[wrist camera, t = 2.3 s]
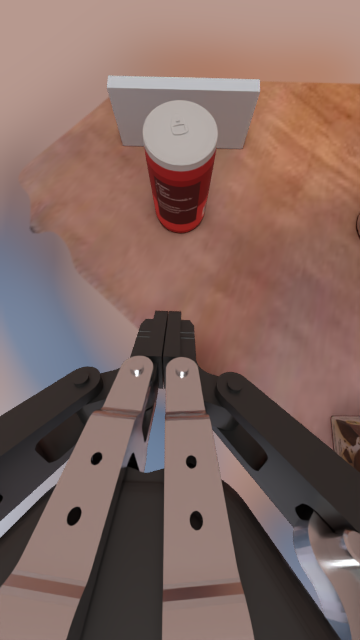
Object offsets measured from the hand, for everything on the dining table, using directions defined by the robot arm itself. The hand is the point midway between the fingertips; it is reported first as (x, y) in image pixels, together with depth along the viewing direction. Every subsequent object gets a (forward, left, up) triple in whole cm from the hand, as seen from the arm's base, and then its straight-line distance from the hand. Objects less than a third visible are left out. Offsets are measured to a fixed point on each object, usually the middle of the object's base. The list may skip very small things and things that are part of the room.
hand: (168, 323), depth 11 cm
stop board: (0, -35, -15) cm, 39 cm away
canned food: (0, -20, -15) cm, 25 cm away
